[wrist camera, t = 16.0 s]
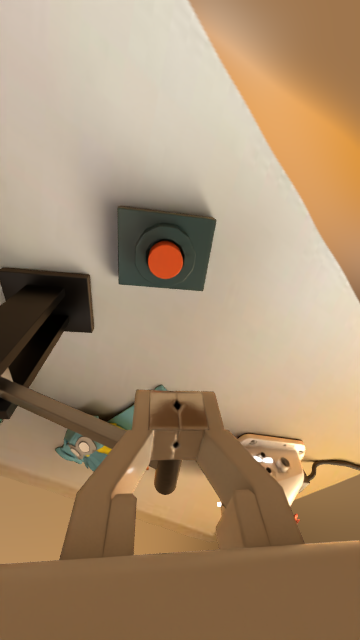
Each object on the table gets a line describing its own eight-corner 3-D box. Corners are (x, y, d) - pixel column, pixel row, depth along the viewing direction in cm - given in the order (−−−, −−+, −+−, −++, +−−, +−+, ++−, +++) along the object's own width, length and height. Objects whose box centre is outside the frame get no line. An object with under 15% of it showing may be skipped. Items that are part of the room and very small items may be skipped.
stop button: (183, 242, 25) (184, 246, 23) (179, 274, 27) (180, 280, 25) (149, 238, 24) (148, 243, 23) (147, 271, 26) (147, 277, 25)
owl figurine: (80, 515, 44) (6, 487, 38) (92, 467, 52) (32, 437, 45) (200, 459, 37) (135, 411, 30) (194, 412, 44) (140, 366, 38)
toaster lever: (191, 426, 14) (178, 463, 12) (181, 469, 17) (169, 506, 15) (-24, 340, 19) (-60, 357, 17) (-6, 386, 21) (-34, 406, 19)
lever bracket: (89, 274, 29) (29, 358, 16) (94, 328, 33) (49, 431, 20) (2, 267, 28) (-144, 351, 14) (18, 323, 32) (-84, 430, 19)
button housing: (213, 217, 27) (220, 222, 24) (201, 286, 31) (205, 297, 28) (119, 205, 25) (114, 209, 22) (120, 279, 30) (116, 290, 27)
